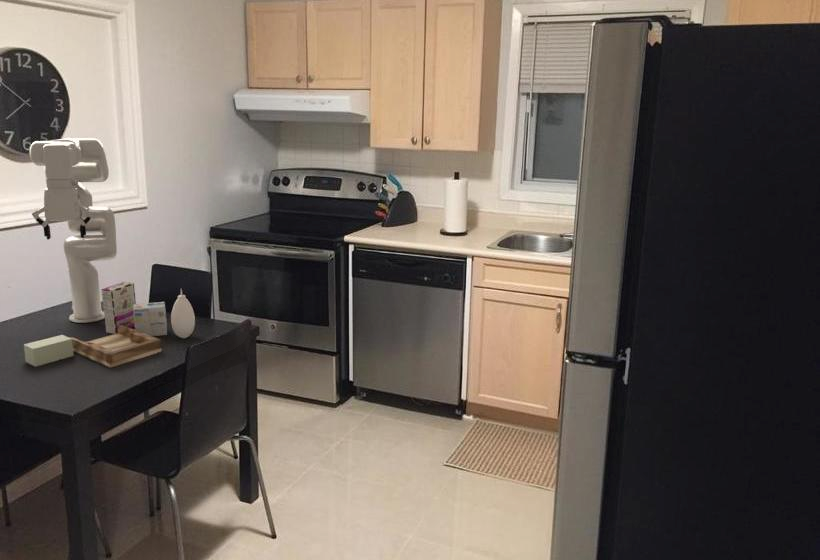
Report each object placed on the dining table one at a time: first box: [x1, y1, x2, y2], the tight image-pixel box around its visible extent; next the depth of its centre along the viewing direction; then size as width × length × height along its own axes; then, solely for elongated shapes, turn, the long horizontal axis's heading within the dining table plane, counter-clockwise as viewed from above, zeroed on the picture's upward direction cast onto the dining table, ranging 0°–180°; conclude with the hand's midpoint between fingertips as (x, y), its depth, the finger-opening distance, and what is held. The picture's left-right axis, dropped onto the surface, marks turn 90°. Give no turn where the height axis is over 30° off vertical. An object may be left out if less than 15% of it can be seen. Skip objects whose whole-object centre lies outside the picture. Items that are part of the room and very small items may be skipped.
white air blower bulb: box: [170, 288, 196, 339], centre depth 228 cm, size 8×8×18 cm
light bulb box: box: [133, 301, 168, 337], centre depth 232 cm, size 11×7×11 cm, turn 111°
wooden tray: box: [69, 325, 163, 368], centre depth 216 cm, size 24×18×4 cm
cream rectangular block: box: [23, 334, 75, 368], centre depth 207 cm, size 6×12×6 cm, turn 144°
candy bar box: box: [101, 281, 137, 335], centre depth 235 cm, size 11×5×16 cm, turn 161°
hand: (65, 238), depth 208 cm, fingers open, 9 cm apart
